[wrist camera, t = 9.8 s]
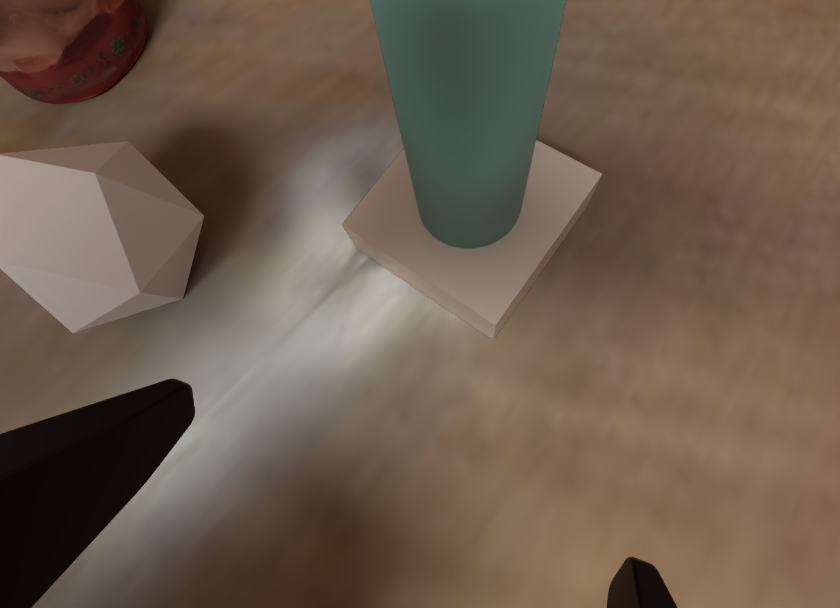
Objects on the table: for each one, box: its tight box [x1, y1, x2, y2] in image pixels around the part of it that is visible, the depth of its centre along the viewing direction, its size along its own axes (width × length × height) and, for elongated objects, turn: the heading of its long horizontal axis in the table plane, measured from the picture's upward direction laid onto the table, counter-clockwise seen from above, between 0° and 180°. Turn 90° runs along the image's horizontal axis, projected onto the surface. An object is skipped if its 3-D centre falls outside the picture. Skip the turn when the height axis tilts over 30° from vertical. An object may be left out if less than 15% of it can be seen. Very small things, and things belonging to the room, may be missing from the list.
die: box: [0, 141, 204, 333], centre depth 23 cm, size 8×9×10 cm
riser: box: [342, 140, 602, 340], centre depth 24 cm, size 9×9×3 cm
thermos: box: [370, 0, 566, 249], centre depth 16 cm, size 5×5×13 cm
